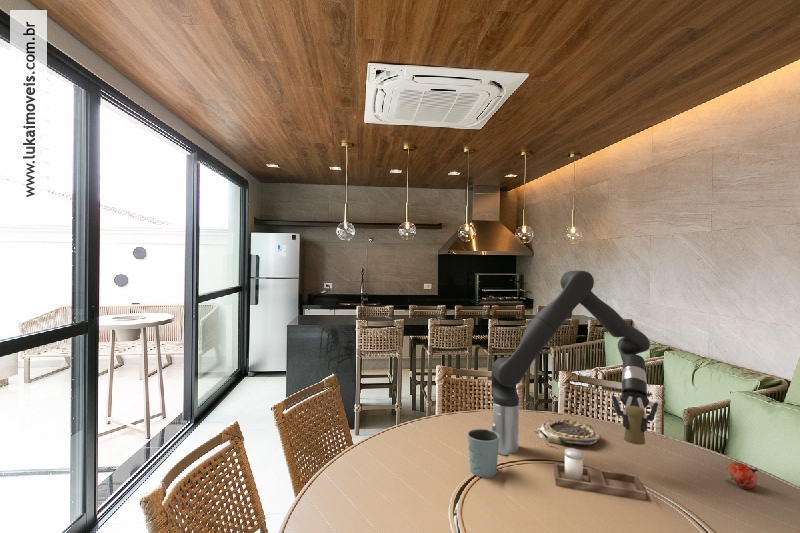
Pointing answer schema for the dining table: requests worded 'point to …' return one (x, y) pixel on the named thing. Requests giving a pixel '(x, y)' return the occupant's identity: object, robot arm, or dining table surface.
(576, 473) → the salt shaker
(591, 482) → the cruet caddy
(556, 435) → the pie
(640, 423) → the olive mushroom knob
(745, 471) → the pomegranate
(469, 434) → the teal cup
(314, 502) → the dining table surface
